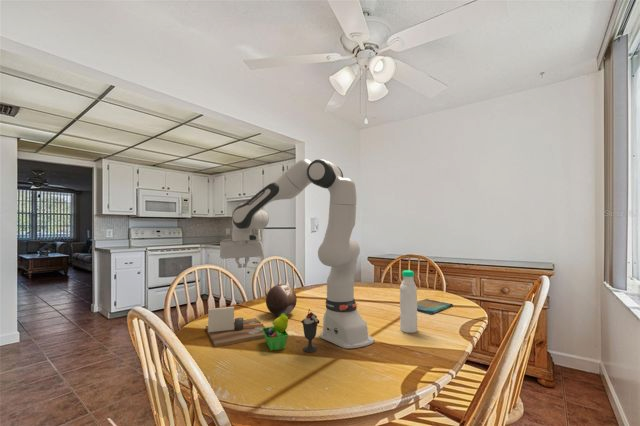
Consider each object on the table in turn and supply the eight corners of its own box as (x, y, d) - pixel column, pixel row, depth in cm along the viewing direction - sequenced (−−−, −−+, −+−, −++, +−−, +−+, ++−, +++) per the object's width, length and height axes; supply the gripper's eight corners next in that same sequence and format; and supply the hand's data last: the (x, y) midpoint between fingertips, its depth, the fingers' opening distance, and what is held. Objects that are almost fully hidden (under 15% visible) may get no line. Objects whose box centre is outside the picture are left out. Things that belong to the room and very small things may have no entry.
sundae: (305, 355, 106) (305, 311, 106) (298, 348, 111) (297, 306, 112) (322, 351, 109) (322, 308, 109) (314, 344, 115) (314, 304, 115)
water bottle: (418, 329, 131) (417, 270, 131) (416, 334, 124) (415, 272, 125) (401, 326, 134) (401, 269, 134) (398, 332, 127) (398, 271, 128)
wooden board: (272, 336, 123) (272, 332, 123) (214, 347, 112) (215, 343, 112) (255, 320, 142) (255, 317, 142) (205, 328, 132) (205, 325, 132)
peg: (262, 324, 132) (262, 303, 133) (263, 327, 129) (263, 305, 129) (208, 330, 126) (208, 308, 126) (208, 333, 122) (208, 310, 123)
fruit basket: (261, 341, 118) (262, 311, 119) (284, 338, 121) (284, 309, 122) (267, 352, 108) (267, 320, 108) (292, 349, 111) (292, 317, 111)
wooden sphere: (283, 322, 140) (283, 289, 141) (259, 316, 148) (259, 285, 149) (302, 313, 153) (302, 283, 153) (279, 309, 161) (279, 280, 161)
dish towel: (401, 309, 163) (401, 304, 163) (424, 301, 179) (424, 296, 179) (432, 316, 150) (431, 311, 150) (453, 307, 166) (453, 302, 166)
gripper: (217, 238, 142) (217, 269, 140) (261, 236, 142) (262, 266, 140) (222, 239, 148) (222, 268, 146) (264, 237, 148) (265, 266, 146)
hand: (242, 267), depth 143 cm, fingers closed
